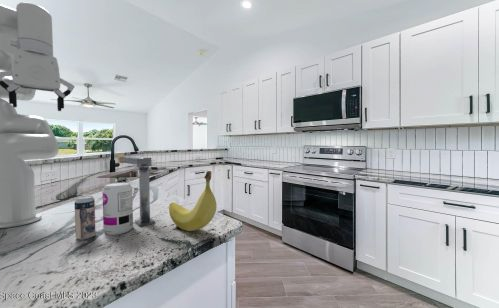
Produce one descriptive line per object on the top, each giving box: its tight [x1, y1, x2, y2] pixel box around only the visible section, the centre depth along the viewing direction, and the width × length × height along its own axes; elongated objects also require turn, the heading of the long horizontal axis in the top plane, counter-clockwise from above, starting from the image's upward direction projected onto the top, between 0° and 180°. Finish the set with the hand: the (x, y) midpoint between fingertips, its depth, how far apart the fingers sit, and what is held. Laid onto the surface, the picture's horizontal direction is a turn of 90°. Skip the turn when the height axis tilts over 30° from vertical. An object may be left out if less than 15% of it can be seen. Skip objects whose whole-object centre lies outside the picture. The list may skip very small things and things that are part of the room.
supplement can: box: [102, 181, 134, 236], centre depth 71 cm, size 8×8×15 cm
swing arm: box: [117, 154, 153, 168], centre depth 85 cm, size 27×5×3 cm, turn 47°
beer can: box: [74, 195, 97, 241], centre depth 66 cm, size 5×5×12 cm
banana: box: [168, 170, 217, 232], centre depth 71 cm, size 23×6×20 cm, turn 50°
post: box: [134, 166, 156, 227], centre depth 78 cm, size 5×5×20 cm
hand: (38, 108), depth 66 cm, fingers open, 9 cm apart
